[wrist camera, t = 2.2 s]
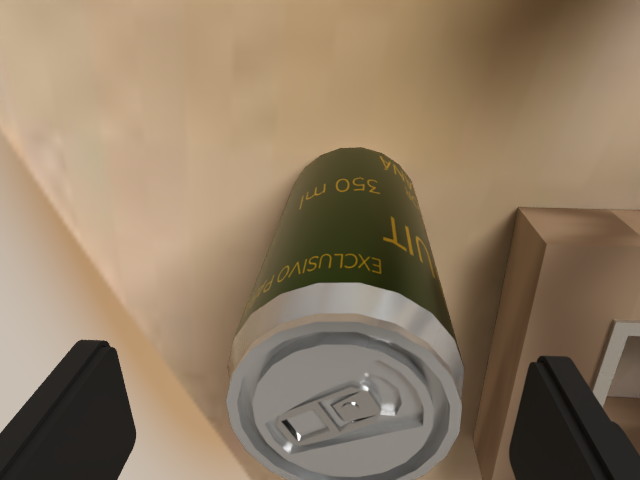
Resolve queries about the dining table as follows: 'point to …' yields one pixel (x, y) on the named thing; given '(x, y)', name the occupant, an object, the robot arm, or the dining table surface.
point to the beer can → (347, 333)
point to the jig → (558, 314)
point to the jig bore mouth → (612, 356)
